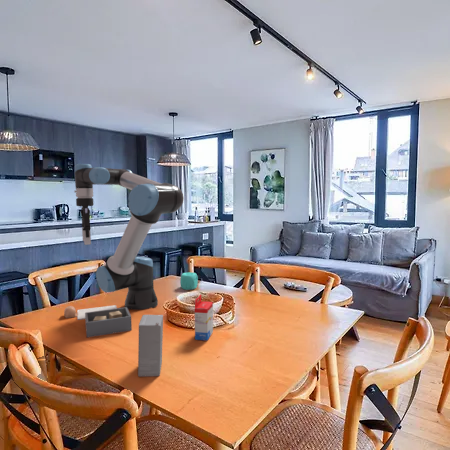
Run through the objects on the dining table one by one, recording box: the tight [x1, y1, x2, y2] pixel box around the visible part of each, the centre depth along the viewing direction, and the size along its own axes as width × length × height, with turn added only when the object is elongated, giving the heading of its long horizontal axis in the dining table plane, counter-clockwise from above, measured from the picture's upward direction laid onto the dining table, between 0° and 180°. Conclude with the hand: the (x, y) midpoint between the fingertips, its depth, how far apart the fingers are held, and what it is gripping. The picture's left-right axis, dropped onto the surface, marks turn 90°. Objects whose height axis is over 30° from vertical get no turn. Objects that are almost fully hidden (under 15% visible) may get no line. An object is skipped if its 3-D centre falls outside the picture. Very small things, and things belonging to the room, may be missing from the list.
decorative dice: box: [179, 271, 199, 291], centre depth 193 cm, size 8×8×8 cm
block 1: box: [93, 316, 106, 321], centre depth 132 cm, size 4×4×5 cm
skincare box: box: [137, 314, 164, 378], centre depth 103 cm, size 8×7×16 cm
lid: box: [63, 304, 118, 321], centre depth 151 cm, size 22×13×4 cm, turn 113°
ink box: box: [194, 294, 214, 341], centre depth 127 cm, size 8×5×15 cm, turn 168°
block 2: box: [109, 311, 122, 319], centre depth 137 cm, size 4×4×5 cm
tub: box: [84, 306, 133, 338], centre depth 134 cm, size 16×12×6 cm
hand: (86, 242), depth 164 cm, fingers open, 13 cm apart
